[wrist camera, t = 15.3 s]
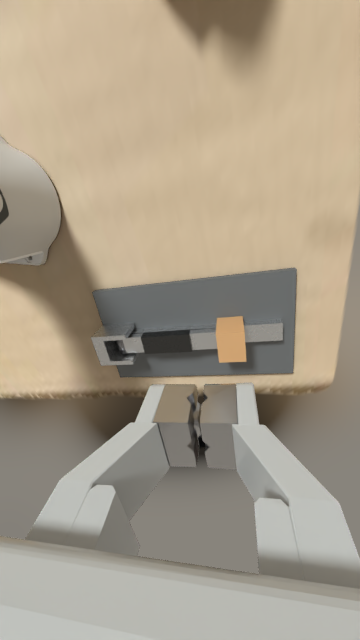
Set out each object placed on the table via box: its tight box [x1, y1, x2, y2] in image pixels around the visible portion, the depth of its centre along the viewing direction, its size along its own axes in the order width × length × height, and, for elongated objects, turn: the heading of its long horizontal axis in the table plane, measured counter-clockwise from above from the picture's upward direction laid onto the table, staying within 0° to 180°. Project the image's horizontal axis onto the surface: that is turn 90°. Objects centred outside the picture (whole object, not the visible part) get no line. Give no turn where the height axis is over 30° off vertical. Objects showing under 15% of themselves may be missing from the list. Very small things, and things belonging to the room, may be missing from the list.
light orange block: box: [216, 316, 246, 363], centre depth 38 cm, size 4×5×5 cm
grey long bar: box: [91, 319, 283, 366], centre depth 40 cm, size 30×6×4 cm, turn 100°
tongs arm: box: [116, 328, 217, 355], centre depth 40 cm, size 21×3×2 cm, turn 100°
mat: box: [92, 268, 297, 377], centre depth 42 cm, size 32×18×1 cm, turn 100°
